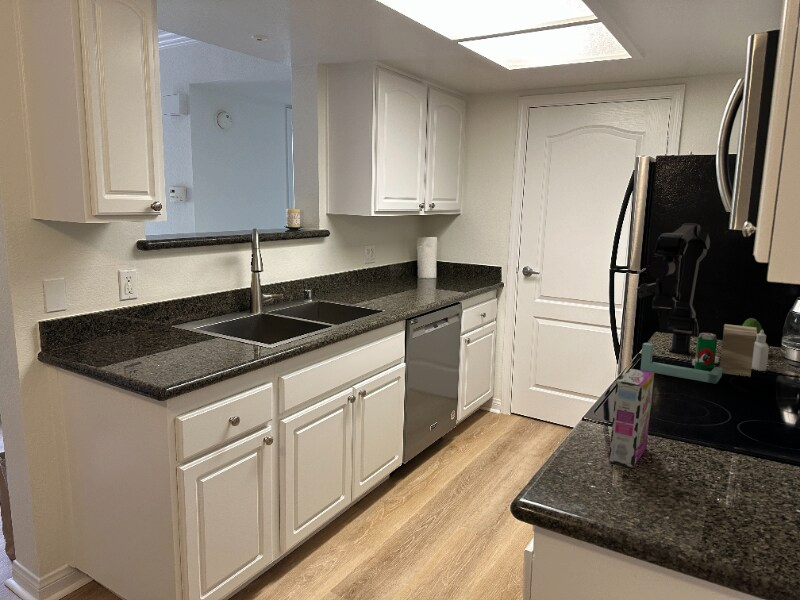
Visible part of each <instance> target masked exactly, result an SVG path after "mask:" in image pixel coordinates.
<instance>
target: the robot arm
mask: <svg viewBox="0 0 800 600" xmlns="http://www.w3.org/2000/svg"><path fill="white" fill-rule="evenodd" d="M656 240H657V241H656V243H655V246H654V249H653V252H652V257H656V259H654V260H652V261H651V262H650V264H649V265H648V268H647V269H648V273H649V275H650V276H651V277H652V278H654V279H656V280H655V282H653V283H652V282H651V283H643V284H640V285H639V286H638V287H637V288H636V290H637V292H636V293H637V294H638V297H639V299H643V298H645V297H648V296H651V295H654V297H653V299H652V300H651V307H652V309H654V310H655V311H656V312H657V315H658V321H659V327H660V329H661V330H665V329H666V333H669V334H672V336H671V337H672V338H671V346H670V348H669V349H668V352H669V353H676V354H684V355H691V354H692V350H693V349H692V348H691V346H692V345H691V343H692V337H698V336H699V324H698V320H697V318H696V316H697V315H696V314H697V313H696V311H695V309H694V307H693V301H694V296H695V290H696V284H697V279H698V272H699V268H700V267H699V266H700V262H701V261H702V260H703V259H704V258H705V257H706V256H707V254H708V250H709V249H710V247H711V240H710V236H709V232H706V231H705V230H703V229H702V228H701V225H700V224H697V223H688V222H687V223H686V222H685V223H682V224H681V226H680V227H678V229H676V230H675V231H673V232H664V233H661V234H660V236H659V237H658V238H657V239H656ZM682 258H683V259H684V260H683V267H682V272H681V277H680V271H681V259H682ZM680 278H681V279H680ZM679 283H680V284H679Z"/></svg>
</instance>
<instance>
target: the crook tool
mask: <svg viewBox="0 0 800 600" xmlns="http://www.w3.org/2000/svg"><path fill="white" fill-rule="evenodd" d="M653 352H654V343H650V342H649V343H648V342H644V343H642V349H641V361H640V362H641V363H640V370H641V371H647V372H652V373H654V374H659V375H665V376H671V377H676V378H682V379H685V380H686V379H687V380H692V381H698V382H704V383H710V384H715V385H716V384H717V383H718V382H719V381H720V379H721V378H722V376H723V373H722V369H723V368H720V366H714V368H713V370H712V371H711V372H709V371H703V370H697V369H694V368H690V367H686V366H678V365H672V364H668V363H667V364H666V363H661V362H655V361H653Z"/></svg>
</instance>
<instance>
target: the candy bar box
mask: <svg viewBox="0 0 800 600" xmlns="http://www.w3.org/2000/svg"><path fill="white" fill-rule="evenodd" d="M654 379H655V373H653V372H647V371H642V370H641V369H635V368H630V369H629V370H628V371H626V372H625V373H624V374H623V375H622V376H621V377H620V378H618V379H617V380H616V382H615V392H614V402H613V403H614V405H613V415H612V423H611V434H610V435H611V437H610V447H609V458H608V462H609V463H614V464H617V465H621V466H623V467H627V468H628V467H629V468H631V469H632V468H635V466H636V464H637V463H638V462H639V460H640V459H641V457H642V455H643V454H644V452H645V451H646V449H647V447H648V437H649V436H648V435H649V427H650V418H651V417H650V416H651V410H652V409H651V407H652V400H653V390H654V389H653V388H654Z"/></svg>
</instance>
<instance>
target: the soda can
mask: <svg viewBox="0 0 800 600" xmlns="http://www.w3.org/2000/svg"><path fill="white" fill-rule="evenodd" d="M717 343H718V338H717V334H714V333H711V332H700V333H699V332H698V336H697V341H696V347H695V348H696V349H695V358H694V359H695V365H694V368H693V369H697V370H703V371H709V372H711V371H712V370H713V368H714V367H715V364H716V363H715V356H717V355H716V353H717Z"/></svg>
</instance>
